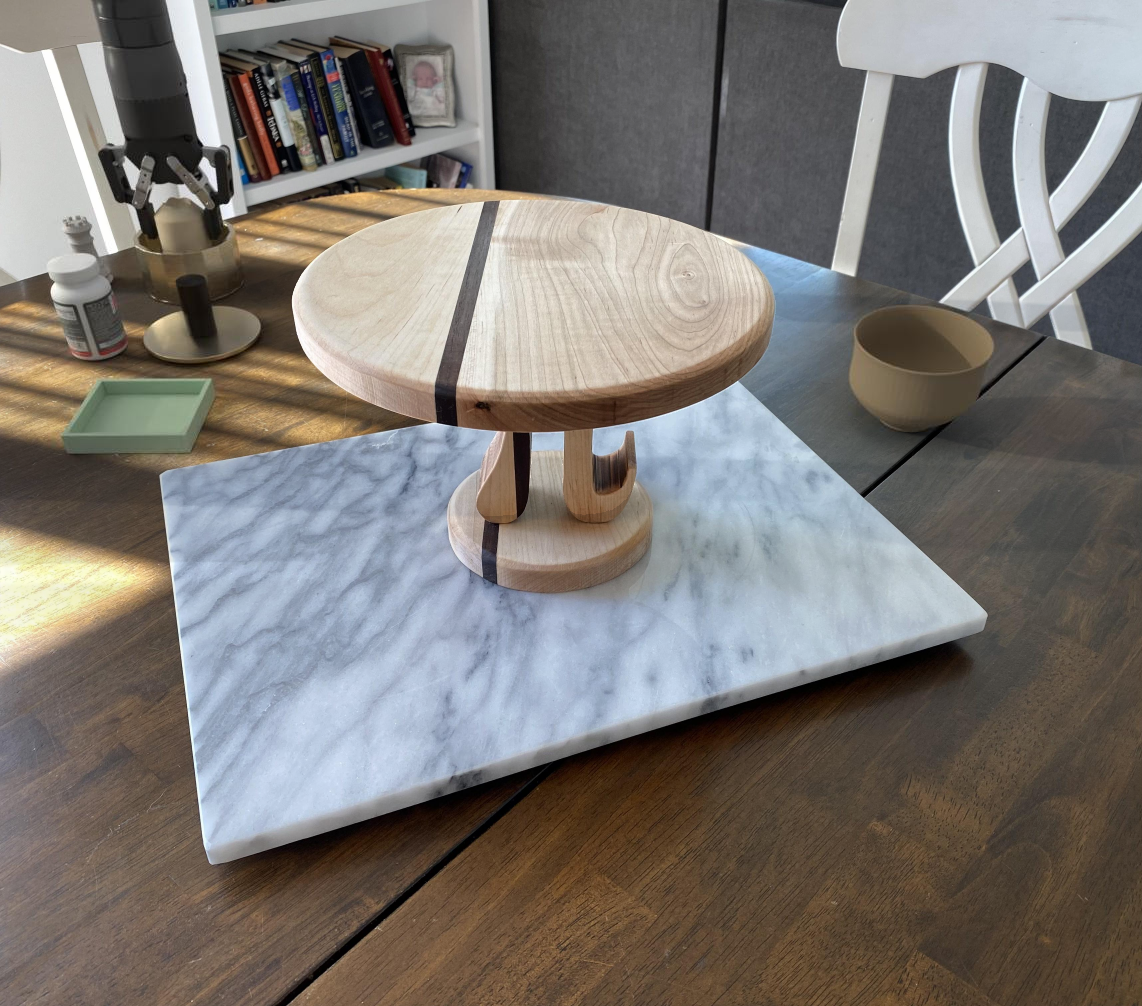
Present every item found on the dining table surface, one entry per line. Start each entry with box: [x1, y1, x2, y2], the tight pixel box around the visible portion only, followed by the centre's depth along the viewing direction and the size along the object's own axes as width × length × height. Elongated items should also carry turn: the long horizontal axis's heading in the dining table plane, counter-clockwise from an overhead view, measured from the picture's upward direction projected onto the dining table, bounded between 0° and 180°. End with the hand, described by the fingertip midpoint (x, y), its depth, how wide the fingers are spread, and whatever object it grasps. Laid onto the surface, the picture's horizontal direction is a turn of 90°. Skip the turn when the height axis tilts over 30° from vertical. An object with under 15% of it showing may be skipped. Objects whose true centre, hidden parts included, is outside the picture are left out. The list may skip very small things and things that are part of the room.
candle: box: [154, 196, 212, 252], centre depth 110 cm, size 6×6×10 cm
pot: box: [132, 219, 245, 306], centre depth 111 cm, size 11×11×6 cm
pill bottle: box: [46, 252, 129, 361], centre depth 97 cm, size 6×6×10 cm
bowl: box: [848, 304, 996, 433], centre depth 91 cm, size 13×13×10 cm
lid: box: [142, 274, 262, 364], centre depth 100 cm, size 12×12×7 cm
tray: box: [60, 378, 217, 455], centre depth 89 cm, size 11×10×2 cm
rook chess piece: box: [61, 214, 114, 285], centre depth 110 cm, size 4×4×8 cm
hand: (185, 236), depth 110 cm, fingers open, 6 cm apart
